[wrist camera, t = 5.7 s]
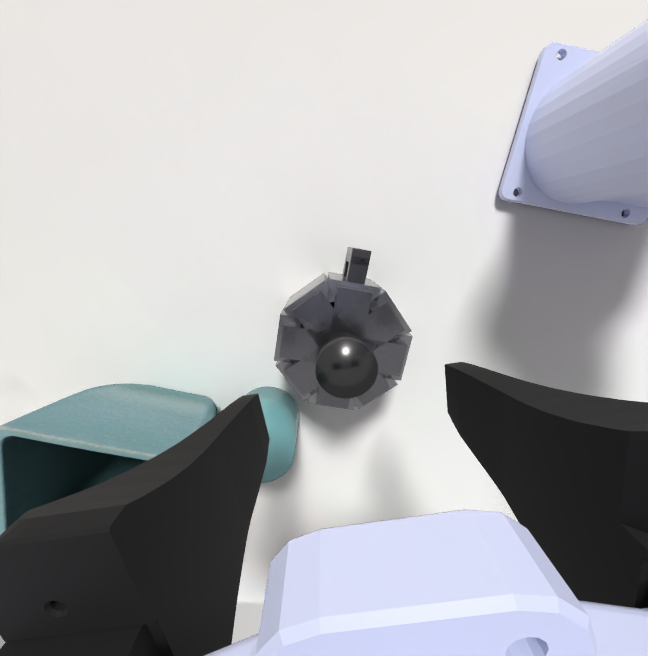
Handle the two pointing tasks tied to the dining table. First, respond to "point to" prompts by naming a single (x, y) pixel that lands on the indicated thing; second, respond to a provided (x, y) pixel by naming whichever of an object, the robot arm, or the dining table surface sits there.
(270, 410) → the teal rounded part
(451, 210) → the dining table surface
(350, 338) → the plunger
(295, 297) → the press pot
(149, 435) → the flower pot
